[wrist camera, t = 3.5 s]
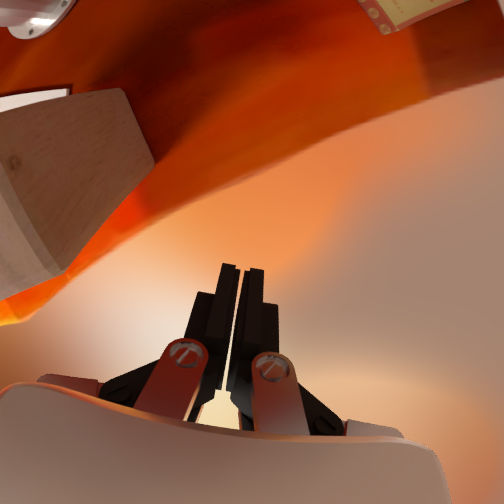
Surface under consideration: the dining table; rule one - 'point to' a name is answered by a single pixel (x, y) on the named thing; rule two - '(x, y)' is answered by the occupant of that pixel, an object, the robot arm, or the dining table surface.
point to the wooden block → (63, 180)
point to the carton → (402, 12)
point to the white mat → (30, 98)
